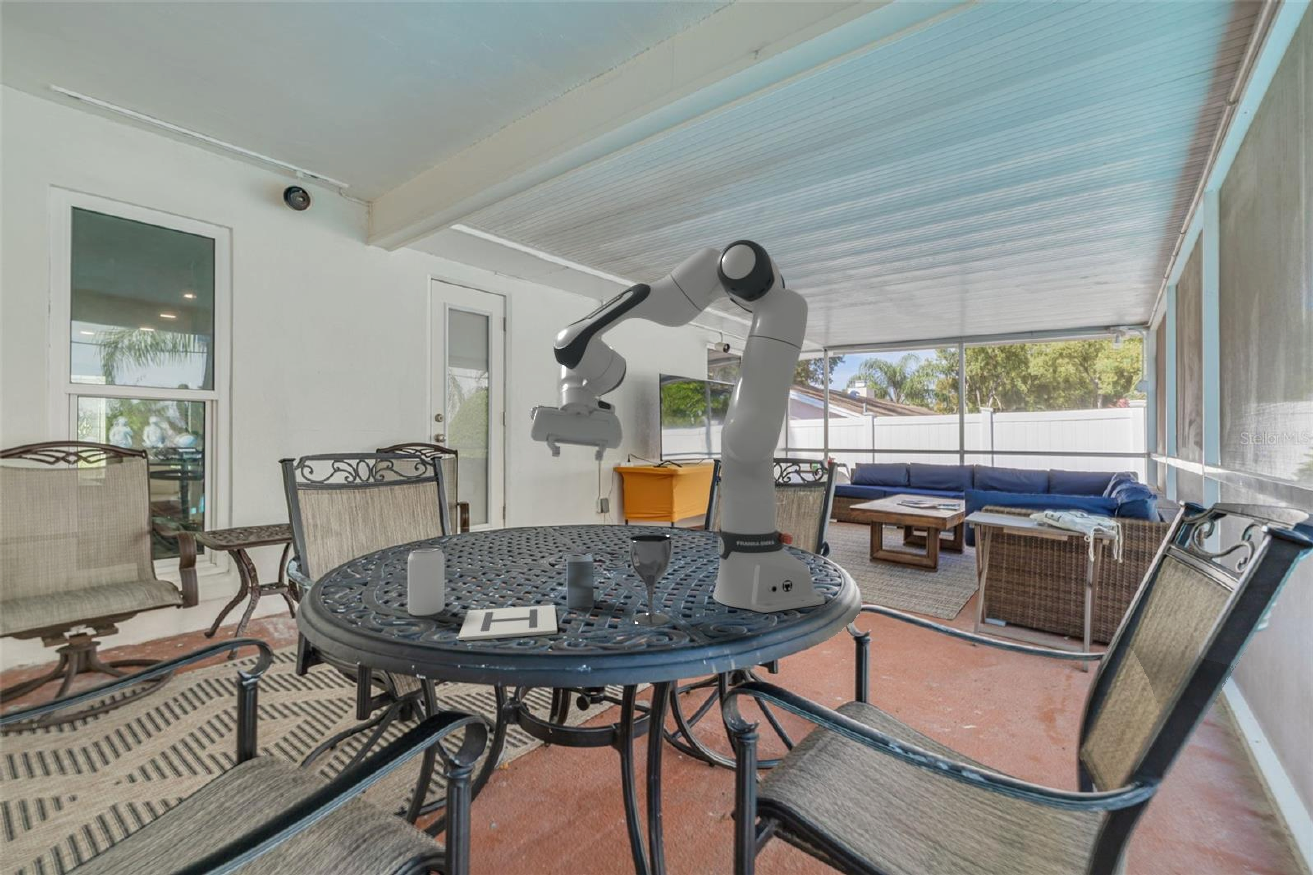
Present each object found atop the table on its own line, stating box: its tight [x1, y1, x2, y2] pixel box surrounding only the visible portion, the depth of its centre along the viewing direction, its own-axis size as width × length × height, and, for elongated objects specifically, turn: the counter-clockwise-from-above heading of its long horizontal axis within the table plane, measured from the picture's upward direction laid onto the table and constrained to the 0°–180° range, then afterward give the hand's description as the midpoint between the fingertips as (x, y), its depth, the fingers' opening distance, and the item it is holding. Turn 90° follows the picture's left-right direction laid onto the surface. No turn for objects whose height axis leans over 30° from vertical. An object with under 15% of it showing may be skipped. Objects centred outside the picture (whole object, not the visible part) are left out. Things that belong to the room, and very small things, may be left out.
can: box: [407, 545, 445, 617], centre depth 106 cm, size 6×6×12 cm
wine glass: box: [628, 533, 673, 627], centre depth 102 cm, size 8×8×15 cm
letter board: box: [457, 604, 558, 641], centre depth 100 cm, size 16×14×1 cm
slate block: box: [565, 555, 595, 609], centre depth 112 cm, size 5×5×9 cm
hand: (578, 457), depth 121 cm, fingers open, 8 cm apart
